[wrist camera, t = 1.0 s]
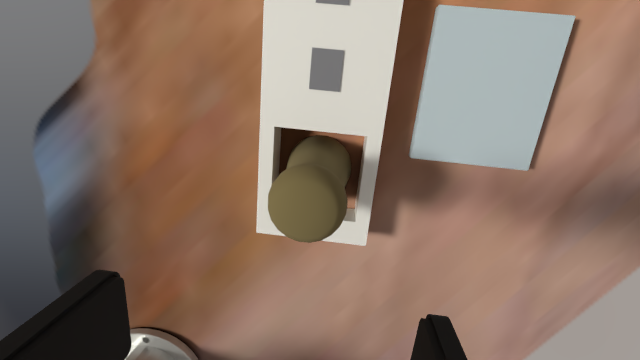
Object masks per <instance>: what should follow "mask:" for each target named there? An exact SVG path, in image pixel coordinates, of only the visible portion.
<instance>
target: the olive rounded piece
mask: <svg viewBox="0 0 640 360" xmlns="http://www.w3.org/2000/svg"><path fill="white" fill-rule="evenodd" d="M351 166H352V165H351V160H350V156H349V154H348V152H347V150H346V149H345V147H344V146H343V145H342V144H341V143H339V142H338V141H337V140H335V139H333V138H331V137H328V136H321V135H315V136H311V137H307V138H305V139H303V140H302V141H300V142H298V143H297V145H296V146H295V147H294V148H293V149H292V151H291V154H290V156H289V159H288V163H287V168H286V170H285V171H283V172H282V173H281V174H280V175H279V176H278V177H277V179H276V180H275V181H274V182H273V183H272V186H271V188H270V191H269V194H268V212H269V215H270V218H271V221H272V222H273V224H274V225H275V226H276V228H277V229H278V230H279V231H280V232H281V233H283V234H284V235H285V236H286V237H288V238H291V239H293V240H296V241H299V242H308V243H310V242H316V241H321V240H323V239H325V238H327V237H329V236H331V235H332V234H333V233H334V232H335V231H336V230H337V229H338V228H339V227H340V225H341V224H342V222H343V220H344V218H345V215H346V211H347V196H346V192H345V186H346V184H347V182H348V179H349V177H350V175H351Z"/></svg>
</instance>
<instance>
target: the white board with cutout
mask: <svg viewBox="0 0 640 360" xmlns="http://www.w3.org/2000/svg"><path fill="white" fill-rule="evenodd" d="M403 1H404V0H264V16H263V47H262V78H261V108H260V139H259V170H258V200H257V231H256V233H264V234H273V235H281V236H285V235H284V234H283V233H281V232H280V231H279V230H278V229H277V228H276V226H275V225H274V224H273V222H272V221H271V218H270V215H269V212H268V194H269V191H270V188H271V186H272V183H273V182H274V181H275V180H276V179H277V177H278V176H279V164H280V145H281V127H283V128H292V129H302V130H312V131H321V132H331V133H340V134H350V135H359V136H364V144H363V151H362V158H361V166H360V173H359V180H358V188H357V195H356V203H355V209H350V208H347V211H346V215H345V218H344V220H343V222H342V224H341V225H340V227H339V228H338V229H337V230H336V231H335V232H334V233H333V234H332V235H331V236H329V237H327V238H325V239H323V240H322V241H330V242H338V243H346V244H354V245H362V246H366V241H367V234H368V228H369V221H370V215H371V208H372V202H373V195H374V189H375V183H376V176H377V170H378V163H379V157H380V150H381V144H382V137H383V131H384V124H385V118H386V111H387V105H388V98H389V92H390V85H391V79H392V72H393V66H394V59H395V53H396V46H397V40H398V33H399V27H400V20H401V14H402V7H403Z"/></svg>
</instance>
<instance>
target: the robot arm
mask: <svg viewBox="0 0 640 360" xmlns="http://www.w3.org/2000/svg"><path fill="white" fill-rule="evenodd" d="M0 360H198V358H197V357H196V355H195V354H194V353H193V351H192V350H191V349H190V348H189V347H188V346H187V345H186V344H184V343H183V342H182V341H180V340H179V339H177V338H176V337H174V336H172V335H170V334H168V333H165V332H162V331H159V330H154V329H148V328H137V329H130V327H129V318H128V310H127V302H126V294H125V285H124V280H123V278H120V275H119V273H117V272H112V271H105V270H96V271H94V272H93V273H91V274H90V275H89V276H87V277H86V278H85V279H83V280H82V281H80V282H79V283H78V284H76V285H75V286H74V287H72V288H71V289H70V290H68V291H67V292H66V293H64V294H63V295H62V296H60V297H59V298H58V299H56V300H55V301H54V302H52V303H51V304H49V305H48V306H47V307H45V308H44V309H43V310H42V311H40V312H39V313H37V314H36V315H35V316H33V317H32V318H31V319H29V320H28V321H26V322H25V323H24V324H22V325H21V326H20V327H18V328H17V329H16V330H14V331H13V332H12V333H10V334H9V335H8V336H6V337H5V338H4V339H2V340H1V341H0ZM411 360H467V358H466V355H465V353H464V351H463V348H462V346H461V344H460V342H459V339H458V337H457V335H456V332H455V330H454V328H453V325H452V323H451V321H450V319H449V318H448V317H447V316H439V315H432V314H428V315H427V316H426V319H423V318H421V319H420V322H419V326H418V330H417V334H416V339H415V343H414V347H413V351H412V356H411Z"/></svg>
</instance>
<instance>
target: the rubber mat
mask: <svg viewBox="0 0 640 360" xmlns="http://www.w3.org/2000/svg"><path fill="white" fill-rule="evenodd" d="M575 17H576V16H571V15H559V14H546V13H534V12H522V11H510V10H498V9H485V8H473V7H461V6H449V5H439V6H437V7H436V10H435V15H434V21H433V26H432V32H431V37H430V43H429V48H428V54H427V59H426V64H425V70H424V75H423V81H422V86H421V92H420V97H419V103H418V108H417V113H416V119H415V124H414V130H413V135H412V141H411V146H410V152H409V156H410V158H415V159H424V160H434V161H443V162H452V163H462V164H471V165H480V166H490V167H499V168H508V169H517V170H527V171H528V169H529V166H530V163H531V159H532V156H533V153H534V150H535V146H536V143H537V140H538V137H539V133H540V130H541V127H542V124H543V120H544V117H545V114H546V111H547V107H548V104H549V101H550V98H551V94H552V91H553V88H554V85H555V81H556V78H557V75H558V72H559V68H560V65H561V62H562V59H563V55H564V52H565V49H566V46H567V42H568V39H569V36H570V33H571V29H572V26H573V23H574V20H575Z"/></svg>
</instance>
